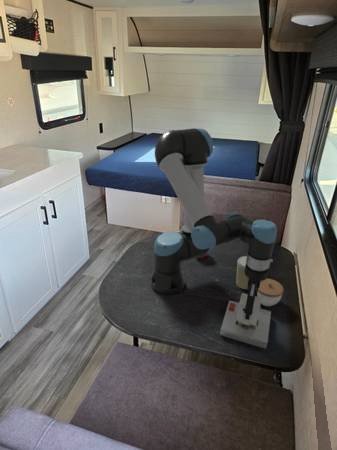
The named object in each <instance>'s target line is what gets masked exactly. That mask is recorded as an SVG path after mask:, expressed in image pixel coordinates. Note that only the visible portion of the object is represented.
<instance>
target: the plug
mask: <svg viewBox="0 0 337 450" xmlns="http://www.w3.org/2000/svg"><path fill="white" fill-rule="evenodd" d="M247 296H248V293H243V292H241V295H240V298H239V299H240V300H239V302H238V303H239V308H238V314H237V319H236V320H237V321H238V325H240V326H242V321H243V315H244V311H242V310H243V308H244V309H245V306H246V301H247ZM261 299H262V298H260V297H256V296H255V300H254V305H253V312H252V317H251V322H250V324H251V325H254V326H256V324H257V320H258V315H259V311H260V309H261V305H262V304H261Z"/></svg>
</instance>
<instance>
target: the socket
mask: <svg viewBox="0 0 337 450" xmlns="http://www.w3.org/2000/svg"><path fill="white" fill-rule="evenodd" d="M238 308H239V302H238V301H233V300H229V301H228V304H227V307H226V310H225V313H224V317H223V321H222V324H221V327H220V332H219V336H222V337H226V338H228V339H233V340H235V341H239V342H242V343H245V344H248V345H252V346H256V347H258V348H261V349H265V350H267V346H268V343H269V335H270V334H269V333H270V323H271V318H272V317H271V315H272V311H271V310H267V309H263V308H260V311H259V315H258V320H257V324H256V326H254V325H251V324H250V326H249V325H245V324H242V326H240V325H238V321H237V320H236V319H237V314H238Z"/></svg>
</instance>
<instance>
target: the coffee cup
mask: <svg viewBox="0 0 337 450" xmlns="http://www.w3.org/2000/svg"><path fill="white" fill-rule="evenodd" d="M246 259H247V255H244V256H240V257H239V258H238V259H237V264H236V278H235V279H236V280H235V284H236V286H237V287H238V288H240V289H242V290H247V289H248V280H249V278H248V277H247V276H246V275H245V272H244V271H245V266H246ZM249 288H250V287H249Z"/></svg>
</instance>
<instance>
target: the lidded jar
mask: <svg viewBox="0 0 337 450" xmlns="http://www.w3.org/2000/svg"><path fill="white" fill-rule="evenodd" d="M256 290H257V289H256ZM284 290H285V289H284V286H283V285H282V284H281V283H280V282H278V281H277V280H275V279H272V278H268V277H267V278H266V279H265V280H263V281H260V287H259V288H258V293H257V297H260V298H262V299H261V305H262V306H264V307H272V306H275V305H277V304H278V303H280V300H281V299H282V296H283V293H284Z"/></svg>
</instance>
